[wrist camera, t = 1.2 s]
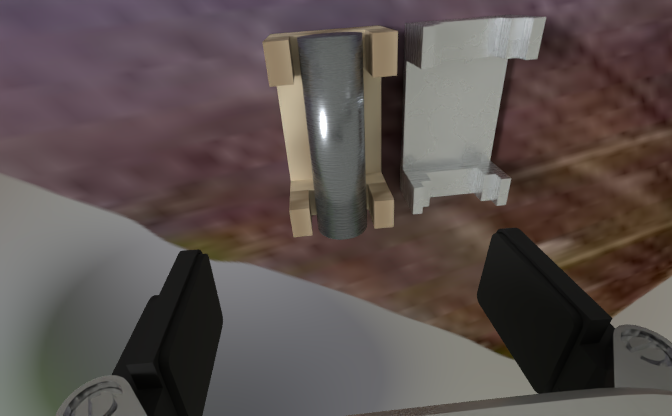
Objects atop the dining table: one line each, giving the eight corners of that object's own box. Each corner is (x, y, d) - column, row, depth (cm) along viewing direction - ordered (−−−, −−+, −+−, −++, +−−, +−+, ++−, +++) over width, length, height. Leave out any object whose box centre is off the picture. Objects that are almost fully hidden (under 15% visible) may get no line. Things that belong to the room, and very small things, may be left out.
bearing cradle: (378, 25, 26) (398, 30, 20) (379, 191, 33) (393, 226, 28) (270, 34, 25) (262, 42, 20) (294, 200, 32) (293, 237, 27)
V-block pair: (509, 14, 26) (546, 16, 22) (481, 181, 33) (505, 204, 29) (405, 23, 26) (423, 26, 22) (399, 189, 33) (412, 214, 29)
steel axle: (357, 30, 23) (367, 35, 20) (363, 210, 30) (370, 236, 27) (297, 35, 23) (296, 40, 19) (317, 214, 30) (319, 242, 27)
